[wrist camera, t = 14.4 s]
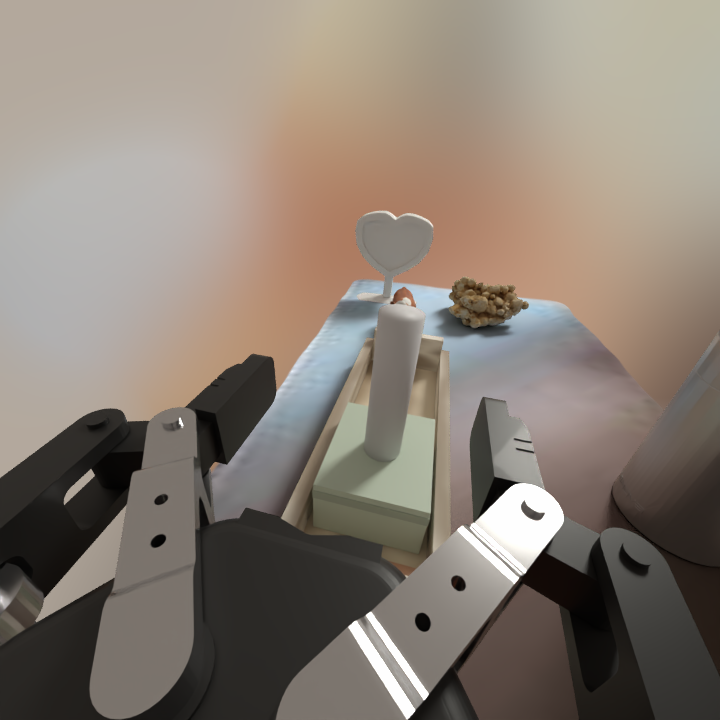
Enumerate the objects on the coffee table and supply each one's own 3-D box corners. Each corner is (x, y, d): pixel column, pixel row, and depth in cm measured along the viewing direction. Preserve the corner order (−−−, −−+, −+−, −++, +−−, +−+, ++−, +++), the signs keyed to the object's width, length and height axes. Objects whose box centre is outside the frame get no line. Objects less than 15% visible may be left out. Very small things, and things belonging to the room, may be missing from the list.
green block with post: (426, 457, 34) (465, 296, 25) (419, 555, 25) (475, 363, 17) (345, 439, 35) (356, 281, 26) (312, 526, 27) (312, 335, 18)
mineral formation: (446, 303, 76) (517, 309, 73) (444, 337, 66) (526, 345, 63) (451, 269, 71) (527, 275, 68) (450, 301, 61) (539, 308, 58)
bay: (443, 374, 50) (452, 338, 47) (437, 658, 21) (459, 613, 18) (364, 360, 52) (368, 325, 48) (260, 603, 23) (252, 554, 20)
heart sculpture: (350, 298, 74) (356, 210, 65) (354, 291, 78) (360, 208, 69) (420, 307, 72) (436, 218, 63) (421, 300, 77) (435, 215, 67)
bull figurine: (382, 350, 55) (388, 303, 51) (391, 318, 66) (396, 278, 62) (409, 354, 54) (417, 307, 50) (413, 322, 66) (419, 281, 62)
